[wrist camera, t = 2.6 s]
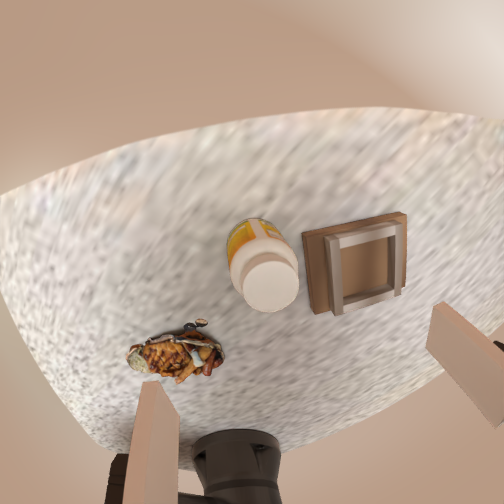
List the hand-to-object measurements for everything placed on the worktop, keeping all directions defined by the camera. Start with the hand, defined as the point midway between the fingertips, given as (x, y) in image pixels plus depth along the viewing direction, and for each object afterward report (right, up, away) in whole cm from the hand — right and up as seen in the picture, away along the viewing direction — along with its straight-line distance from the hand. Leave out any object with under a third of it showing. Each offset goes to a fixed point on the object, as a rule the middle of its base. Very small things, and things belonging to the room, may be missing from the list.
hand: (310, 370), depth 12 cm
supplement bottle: (-2, +6, +17) cm, 18 cm away
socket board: (+9, +4, +19) cm, 22 cm away
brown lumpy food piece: (-12, -7, +21) cm, 25 cm away
